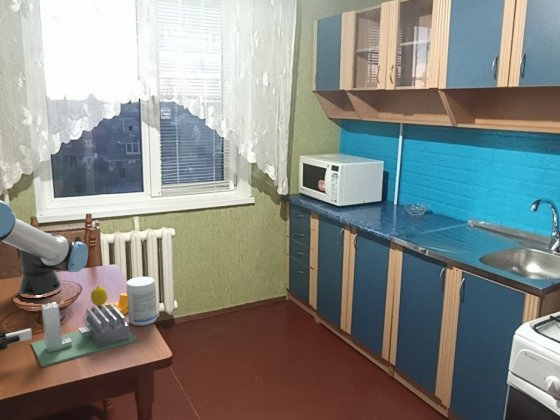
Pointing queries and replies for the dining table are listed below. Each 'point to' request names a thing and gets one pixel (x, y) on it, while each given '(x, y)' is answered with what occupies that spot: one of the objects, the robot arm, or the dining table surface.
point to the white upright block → (53, 328)
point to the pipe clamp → (121, 304)
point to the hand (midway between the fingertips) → (31, 333)
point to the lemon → (98, 296)
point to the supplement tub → (141, 301)
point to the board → (71, 348)
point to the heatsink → (105, 326)
